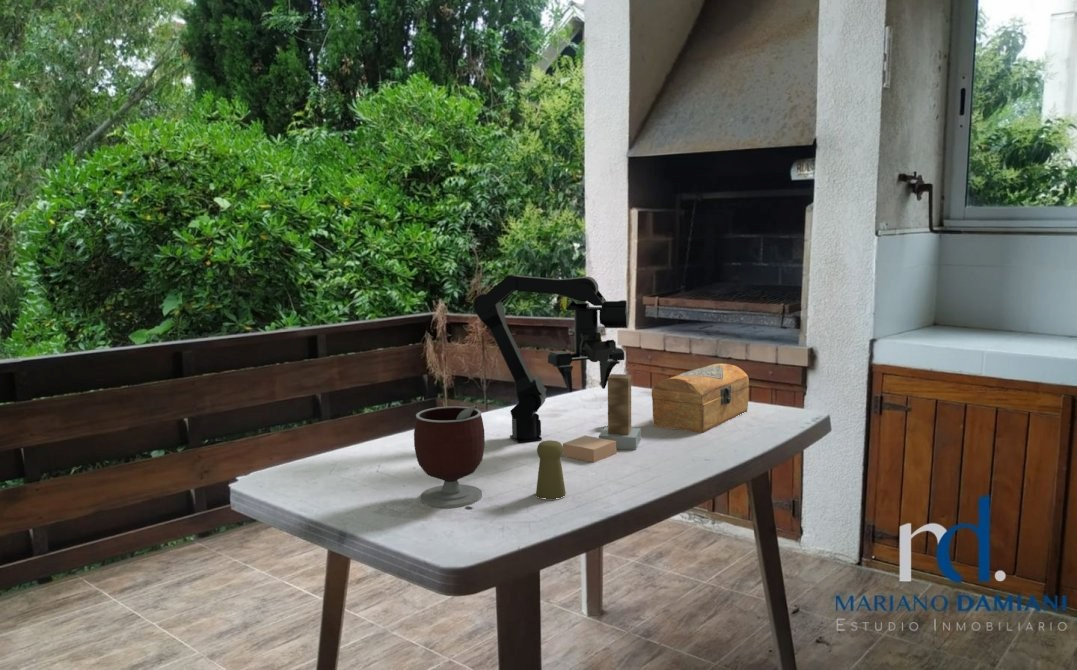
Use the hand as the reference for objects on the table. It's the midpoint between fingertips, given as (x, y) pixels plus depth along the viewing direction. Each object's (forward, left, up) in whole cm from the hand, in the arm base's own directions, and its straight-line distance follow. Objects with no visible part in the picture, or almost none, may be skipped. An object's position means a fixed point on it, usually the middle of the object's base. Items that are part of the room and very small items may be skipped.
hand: (586, 390), depth 195 cm
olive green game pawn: (-25, -33, -13) cm, 44 cm away
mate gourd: (-43, -26, -13) cm, 52 cm away
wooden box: (+39, +6, -14) cm, 42 cm away
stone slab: (+6, -6, -13) cm, 16 cm away
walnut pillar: (+6, -6, -10) cm, 13 cm away
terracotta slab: (-5, -11, -13) cm, 18 cm away
